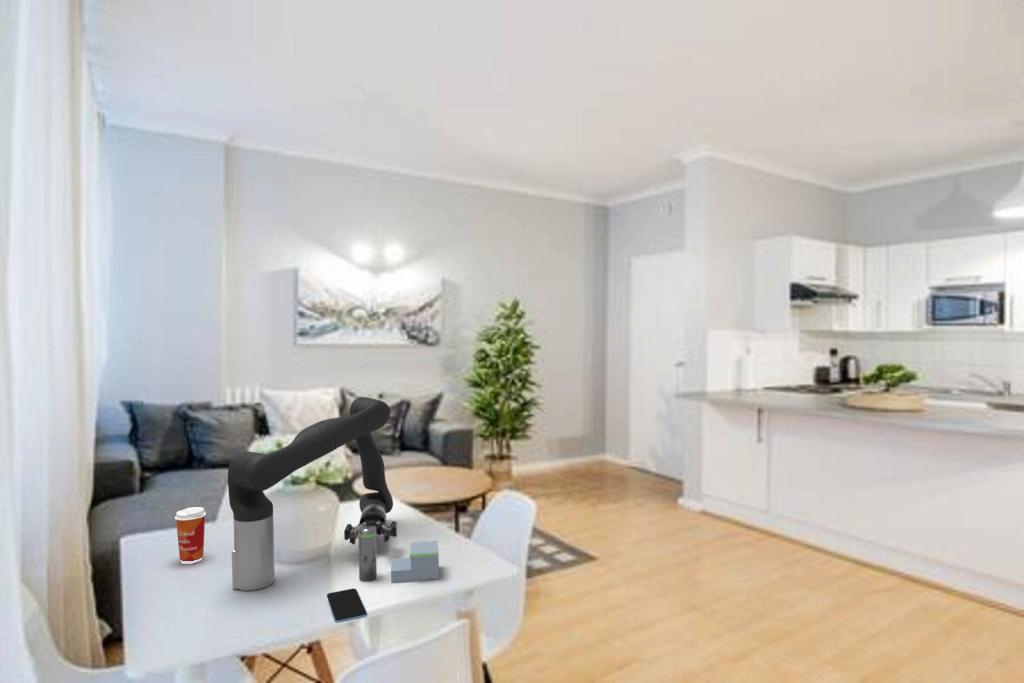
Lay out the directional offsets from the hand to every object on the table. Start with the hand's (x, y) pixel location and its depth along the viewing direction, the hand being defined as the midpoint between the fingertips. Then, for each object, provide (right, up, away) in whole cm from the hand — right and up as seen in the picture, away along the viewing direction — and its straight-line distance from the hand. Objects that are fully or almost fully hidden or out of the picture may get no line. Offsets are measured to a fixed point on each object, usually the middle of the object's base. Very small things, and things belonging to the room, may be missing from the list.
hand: (369, 539), depth 161 cm
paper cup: (-50, -7, +4) cm, 51 cm away
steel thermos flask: (+1, -7, -8) cm, 11 cm away
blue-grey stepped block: (+13, -7, -6) cm, 16 cm away
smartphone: (0, -8, -22) cm, 24 cm away
